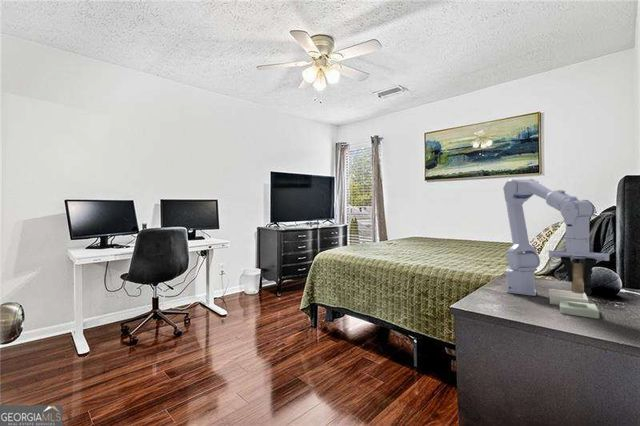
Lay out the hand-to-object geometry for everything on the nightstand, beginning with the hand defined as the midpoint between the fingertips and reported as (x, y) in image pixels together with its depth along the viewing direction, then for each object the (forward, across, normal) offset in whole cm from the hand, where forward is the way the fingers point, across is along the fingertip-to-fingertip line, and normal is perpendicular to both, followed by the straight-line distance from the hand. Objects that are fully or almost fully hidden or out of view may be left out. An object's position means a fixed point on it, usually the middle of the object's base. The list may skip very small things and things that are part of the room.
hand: (577, 281), depth 97 cm
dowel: (+3, 0, 0) cm, 3 cm away
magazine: (+10, +5, +33) cm, 35 cm away
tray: (+10, -2, +10) cm, 14 cm away
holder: (+10, 0, 0) cm, 10 cm away
